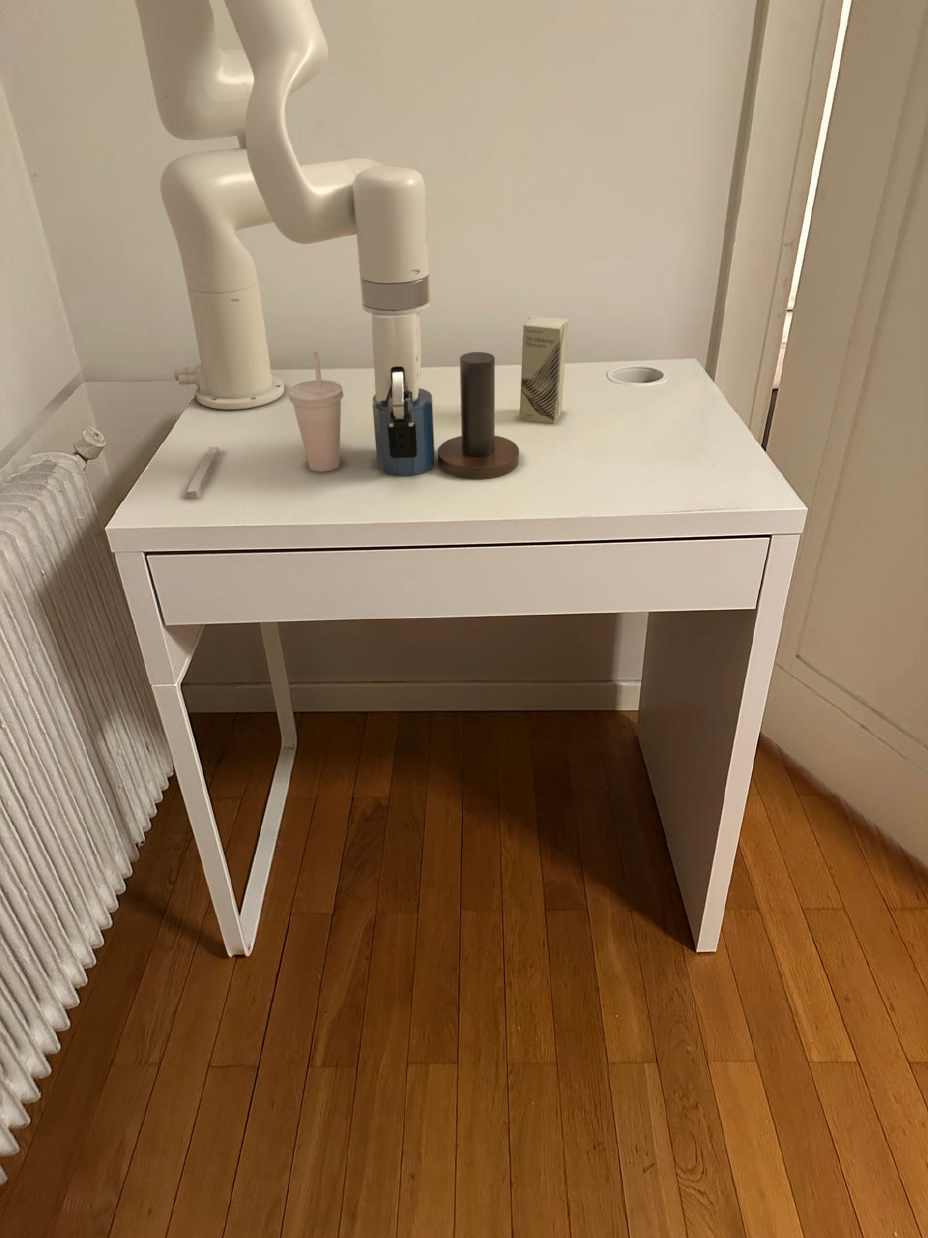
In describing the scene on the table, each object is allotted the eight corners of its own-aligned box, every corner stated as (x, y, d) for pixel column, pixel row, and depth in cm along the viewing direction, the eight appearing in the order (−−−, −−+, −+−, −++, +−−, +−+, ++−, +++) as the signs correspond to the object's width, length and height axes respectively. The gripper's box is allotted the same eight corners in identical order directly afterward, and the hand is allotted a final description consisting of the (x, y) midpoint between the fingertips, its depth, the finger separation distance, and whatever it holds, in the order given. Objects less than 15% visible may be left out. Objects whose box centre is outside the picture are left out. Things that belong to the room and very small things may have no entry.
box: (518, 420, 122) (520, 324, 114) (527, 408, 125) (529, 314, 118) (556, 424, 120) (560, 327, 113) (564, 412, 124) (568, 317, 116)
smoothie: (341, 478, 108) (328, 362, 100) (290, 474, 109) (274, 360, 101) (356, 455, 113) (346, 344, 105) (308, 452, 114) (294, 342, 106)
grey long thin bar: (197, 499, 104) (196, 491, 104) (188, 499, 104) (186, 491, 104) (219, 454, 115) (218, 446, 114) (210, 454, 115) (209, 447, 114)
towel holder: (437, 480, 107) (433, 373, 100) (438, 445, 115) (434, 344, 108) (521, 478, 107) (523, 370, 100) (516, 444, 115) (517, 342, 108)
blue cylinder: (376, 476, 108) (370, 408, 103) (379, 452, 114) (374, 387, 109) (434, 475, 108) (431, 407, 103) (435, 451, 114) (432, 385, 109)
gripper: (367, 274, 107) (378, 417, 117) (354, 316, 92) (368, 475, 102) (430, 272, 107) (436, 415, 117) (428, 314, 92) (435, 473, 102)
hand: (405, 442), depth 109 cm, fingers closed on blue cylinder, 7 cm apart
